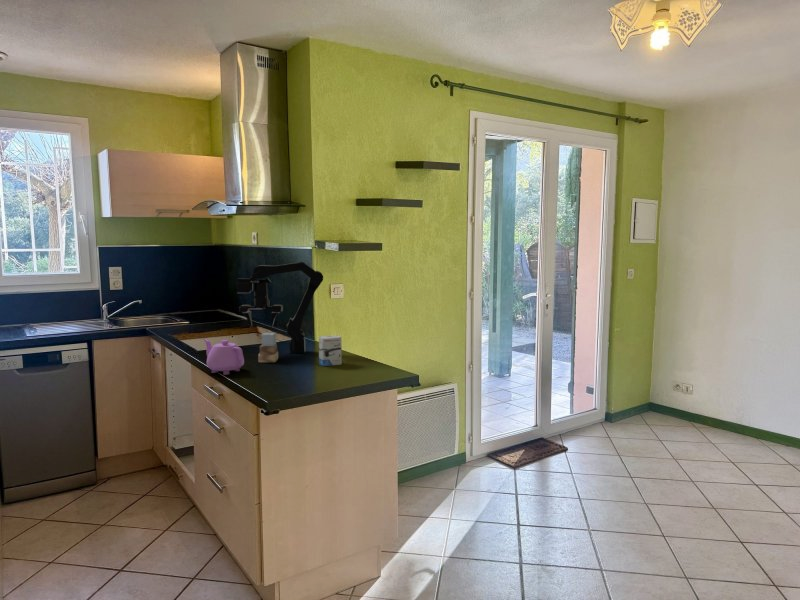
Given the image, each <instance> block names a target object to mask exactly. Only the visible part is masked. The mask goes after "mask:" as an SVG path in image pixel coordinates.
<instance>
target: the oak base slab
mask: <svg viewBox="0 0 800 600" xmlns="http://www.w3.org/2000/svg"><path fill="white" fill-rule="evenodd" d="M257 357H258V359H257V360H258V363H276V362H277V361H278V359H279V351H278V350H277V352H276V353H275V354H274V355H260V353H258V355H257Z"/></svg>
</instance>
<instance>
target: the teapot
mask: <svg viewBox="0 0 800 600" xmlns="http://www.w3.org/2000/svg"><path fill="white" fill-rule="evenodd" d="M203 342H205V344H206V356H207V357H206V367H208V368H209V370H211V372H210V373H212V374H216V373H217V374H218V373H219V372H222V375H224V376H226V375H227V376H228V375H230V373H231V372H230V371H233V372H241V368H242V367H243V366H244V365H245V358H244V357H245V356H244V353H243V349H242V348H241V347H239V345H237V344H236V343H234V342H229V339H222V340H221V341H220V342H221V343H215V344H214V345H213V346H212V343H211V341H210V340H208V339H206V338H203Z"/></svg>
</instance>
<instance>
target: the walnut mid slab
mask: <svg viewBox="0 0 800 600" xmlns="http://www.w3.org/2000/svg"><path fill="white" fill-rule="evenodd" d="M277 351H278V344H277V343H276V344H275V345H274V346H262V344H261V345H259V354H260V355H274V354H275V353H276V352H277Z"/></svg>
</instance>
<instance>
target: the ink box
mask: <svg viewBox="0 0 800 600" xmlns="http://www.w3.org/2000/svg"><path fill="white" fill-rule="evenodd" d="M342 351H343V350H342V336H339V335H338V334H337V335H335V334H334V335H321V336H318V364H319V365H320V366H322V367H330V366H340V365H342V364H343V363H342Z"/></svg>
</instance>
